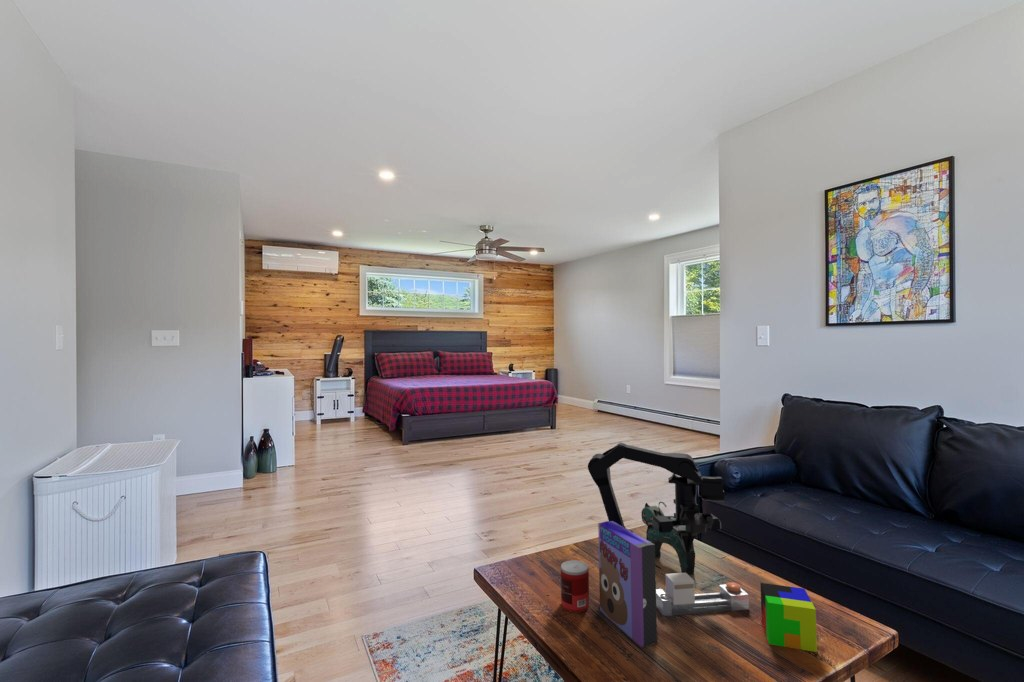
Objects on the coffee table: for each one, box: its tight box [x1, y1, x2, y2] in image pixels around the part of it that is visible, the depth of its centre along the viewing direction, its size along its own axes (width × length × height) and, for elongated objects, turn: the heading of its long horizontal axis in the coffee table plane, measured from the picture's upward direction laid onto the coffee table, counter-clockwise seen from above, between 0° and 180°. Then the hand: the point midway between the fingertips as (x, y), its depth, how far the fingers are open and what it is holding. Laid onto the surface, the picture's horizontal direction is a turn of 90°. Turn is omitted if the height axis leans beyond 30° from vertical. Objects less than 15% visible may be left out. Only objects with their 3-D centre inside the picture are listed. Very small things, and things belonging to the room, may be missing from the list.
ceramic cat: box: [641, 501, 696, 576], centre depth 155 cm, size 20×6×20 cm, turn 28°
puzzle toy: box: [760, 582, 818, 653], centre depth 115 cm, size 10×10×10 cm
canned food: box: [560, 559, 590, 614], centre depth 130 cm, size 8×8×11 cm
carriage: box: [665, 572, 696, 605], centre depth 128 cm, size 6×5×6 cm
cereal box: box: [597, 520, 658, 648], centre depth 120 cm, size 17×5×24 cm, turn 23°
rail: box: [656, 583, 750, 617], centre depth 129 cm, size 24×6×4 cm, turn 96°
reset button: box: [725, 581, 742, 593], centre depth 130 cm, size 4×4×5 cm
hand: (686, 552), depth 136 cm, fingers closed
